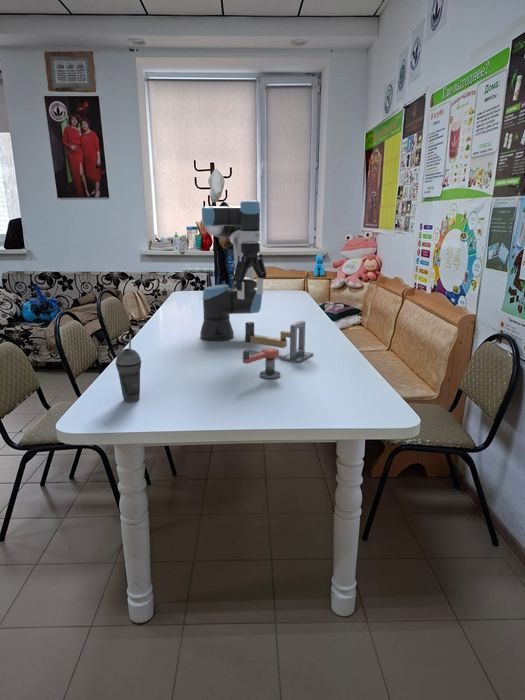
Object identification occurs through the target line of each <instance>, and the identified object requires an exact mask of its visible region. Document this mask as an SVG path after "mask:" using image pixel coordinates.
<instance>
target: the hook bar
mask: <svg viewBox="0 0 525 700" xmlns="http://www.w3.org/2000/svg"><path fill="white" fill-rule="evenodd" d="M244 327H245V335H244V342H245V343H249V344H256V345H262V346H269V347H272V348H275V347H276V348H281V349H285V348H286V347H287V346H288V344H287V343H288V339H287V338H289V339H290V331H287V330H284V331H283V330H281V331H280V338H279V337H271V336H266V335H259V334H255V322H254V321H247V322H245V326H244Z"/></svg>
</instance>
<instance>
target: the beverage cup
mask: <svg viewBox="0 0 525 700" xmlns="http://www.w3.org/2000/svg"><path fill="white" fill-rule="evenodd" d="M128 340H129V341H128V348H125V349H122V350H121V351H119V352H118V354H117V356H116V358H115V359H116V360H115V365H116V370H117V372H118V377H119V382H120V383H119V384H120V388H121V394H122V397H123V402H125V403H135V402H138V401H140V396H141V368H142V360H141V356H140V354H139V353H138V352H137V351H136V350H135V349H133V348H132V334H129V339H128Z"/></svg>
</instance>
